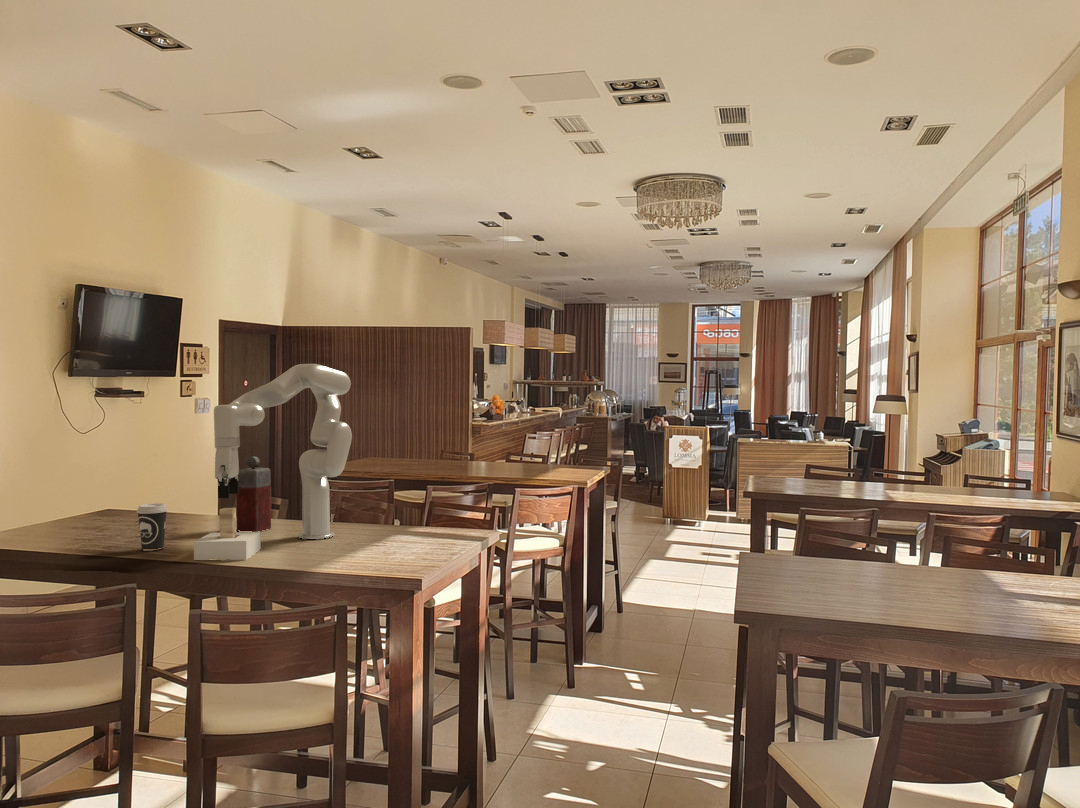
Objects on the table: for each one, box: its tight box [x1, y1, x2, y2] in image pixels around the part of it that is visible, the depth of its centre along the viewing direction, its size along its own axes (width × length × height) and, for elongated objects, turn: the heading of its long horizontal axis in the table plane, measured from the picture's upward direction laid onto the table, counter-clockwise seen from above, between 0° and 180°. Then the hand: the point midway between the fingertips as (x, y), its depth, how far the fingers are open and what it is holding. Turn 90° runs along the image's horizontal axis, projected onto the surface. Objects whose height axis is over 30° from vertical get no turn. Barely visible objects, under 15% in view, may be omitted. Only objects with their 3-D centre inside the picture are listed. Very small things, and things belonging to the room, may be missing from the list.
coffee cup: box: [135, 503, 169, 550], centre depth 263 cm, size 10×10×15 cm
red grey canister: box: [235, 456, 272, 532], centre depth 300 cm, size 9×11×28 cm
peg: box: [219, 507, 237, 539], centre depth 255 cm, size 4×4×15 cm
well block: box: [193, 531, 262, 561], centre depth 255 cm, size 16×16×6 cm
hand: (228, 495), depth 255 cm, fingers open, 9 cm apart
